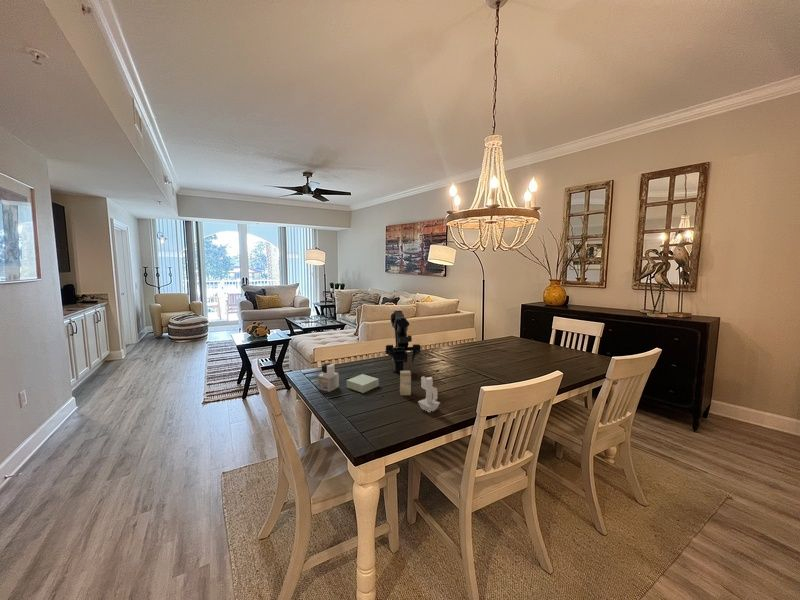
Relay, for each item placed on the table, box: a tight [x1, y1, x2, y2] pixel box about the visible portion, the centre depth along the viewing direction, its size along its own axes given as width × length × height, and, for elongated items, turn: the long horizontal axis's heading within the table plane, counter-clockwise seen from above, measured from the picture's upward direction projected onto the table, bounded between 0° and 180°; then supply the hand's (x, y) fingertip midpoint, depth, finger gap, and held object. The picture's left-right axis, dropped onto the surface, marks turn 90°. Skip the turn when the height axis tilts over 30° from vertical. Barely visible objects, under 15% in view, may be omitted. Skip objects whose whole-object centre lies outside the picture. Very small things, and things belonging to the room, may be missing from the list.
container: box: [317, 362, 340, 393], centre depth 175 cm, size 8×8×13 cm
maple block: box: [399, 370, 412, 396], centre depth 169 cm, size 5×5×11 cm
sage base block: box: [346, 373, 380, 394], centre depth 177 cm, size 12×12×4 cm
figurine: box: [417, 376, 441, 414], centre depth 150 cm, size 7×9×15 cm
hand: (403, 363), depth 175 cm, fingers open, 9 cm apart
